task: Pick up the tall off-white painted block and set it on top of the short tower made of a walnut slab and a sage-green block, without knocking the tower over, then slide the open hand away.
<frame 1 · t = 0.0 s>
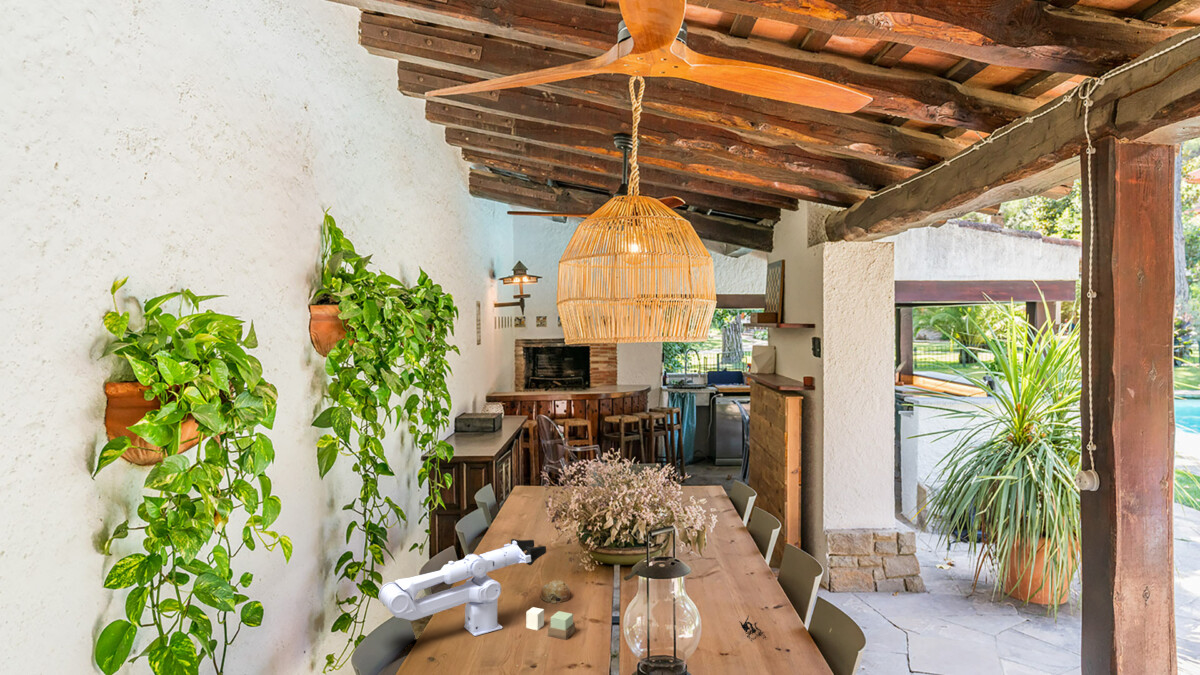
hand: (539, 546, 214), 22 cm above the table, tool horizontal, fingers open, 7 cm apart
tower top: (561, 625, 199), point 3 cm above the table
creature: (753, 637, 199), on the table
white block: (535, 626, 204), on the table
tower base: (561, 635, 199), on the table
brown rounded lump: (554, 598, 227), on the table
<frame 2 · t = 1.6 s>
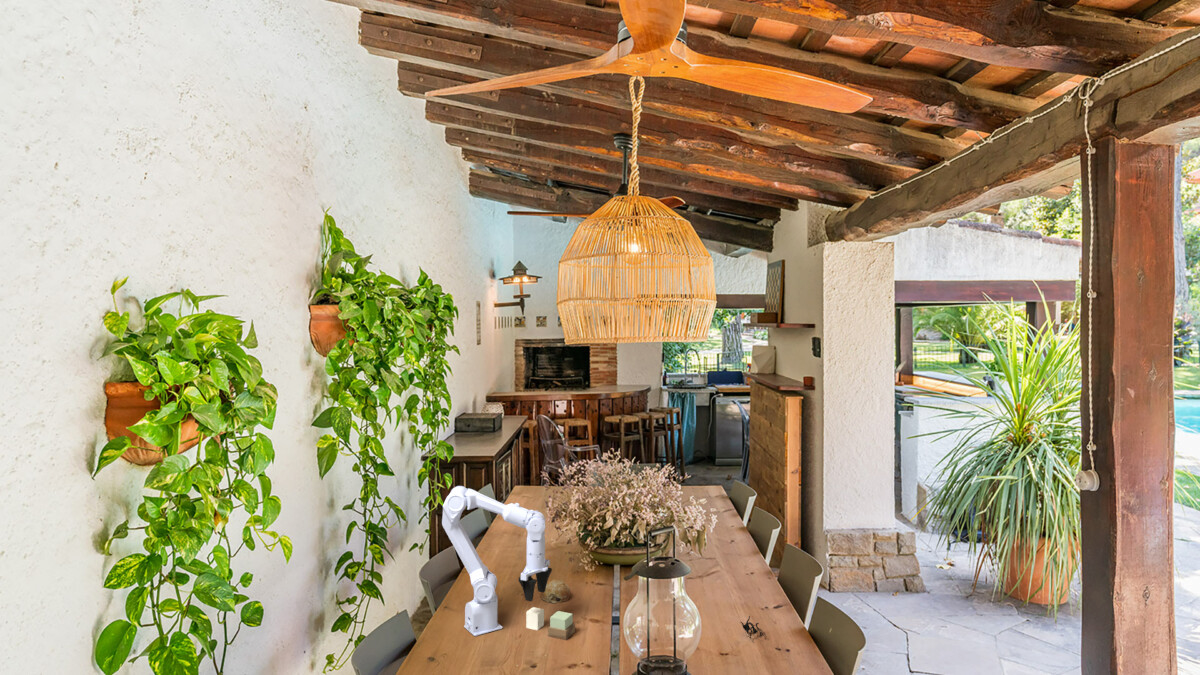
hand: (535, 596, 204), 9 cm above the table, tool pointing down, fingers open, 7 cm apart
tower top: (561, 625, 199), point 3 cm above the table, touching tower base
tower base: (561, 635, 199), on the table, touching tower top
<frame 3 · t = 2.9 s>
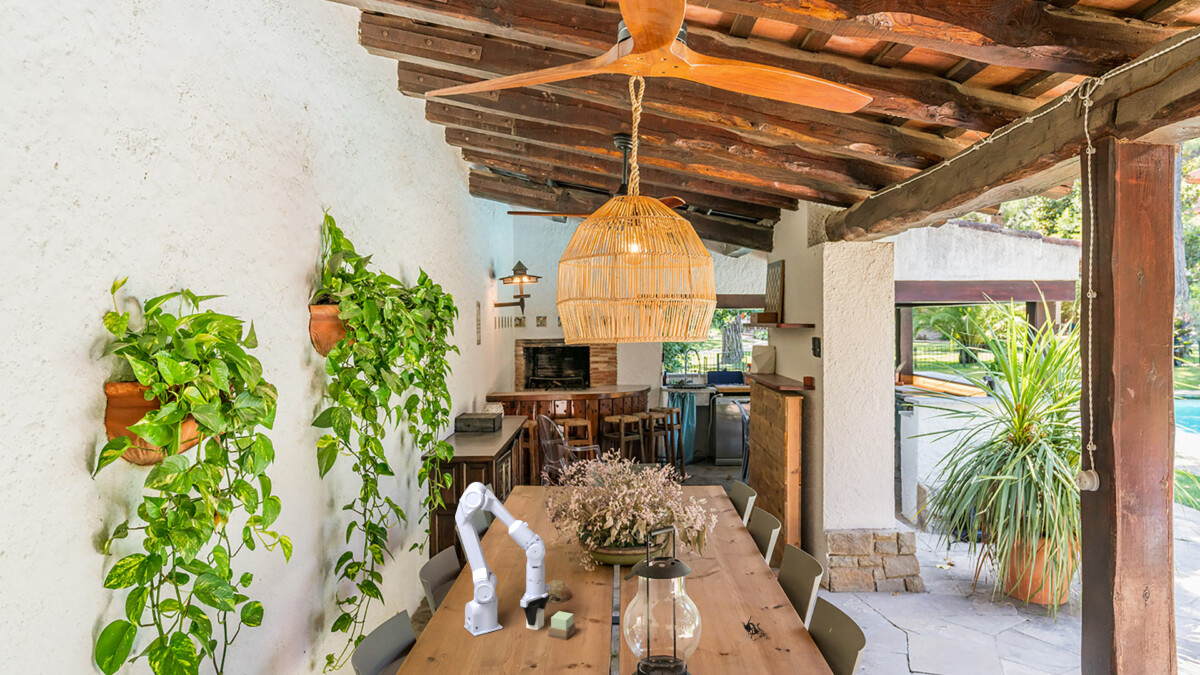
hand: (535, 621, 204), 1 cm above the table, tool pointing down, fingers closed on white block, 4 cm apart
white block: (535, 626, 204), on the table, touching gripper
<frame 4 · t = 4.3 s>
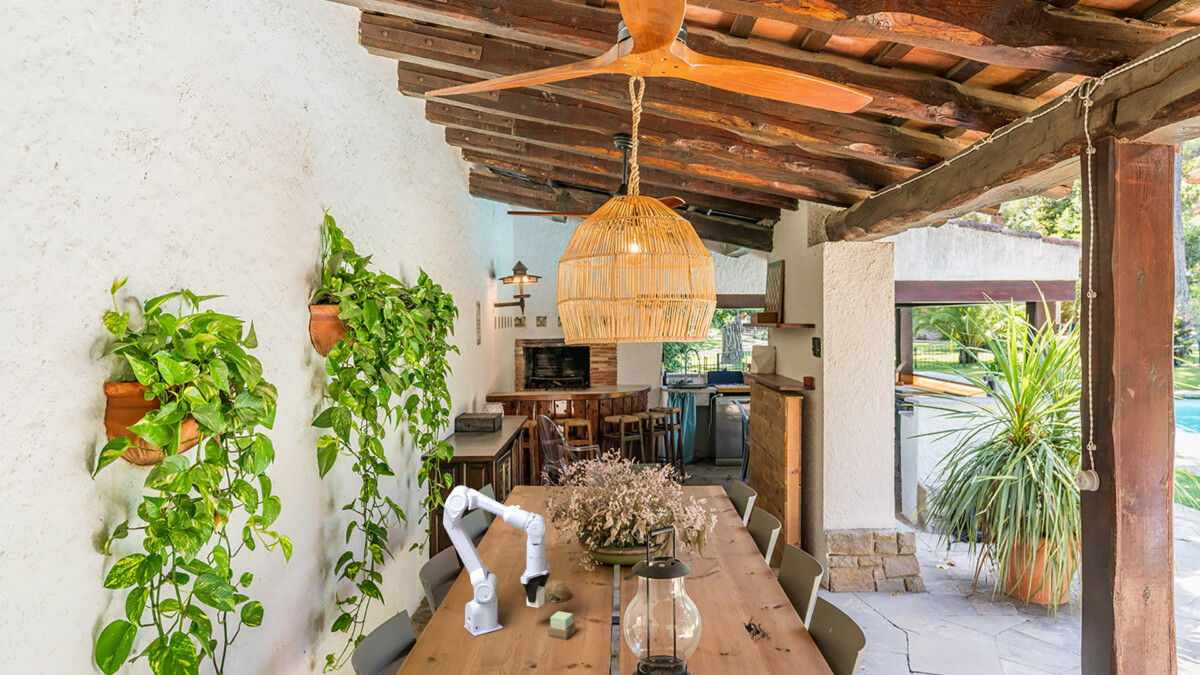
hand: (535, 599, 204), 8 cm above the table, tool pointing down, fingers closed on white block, 4 cm apart
white block: (535, 604, 204), point 7 cm above the table, touching gripper
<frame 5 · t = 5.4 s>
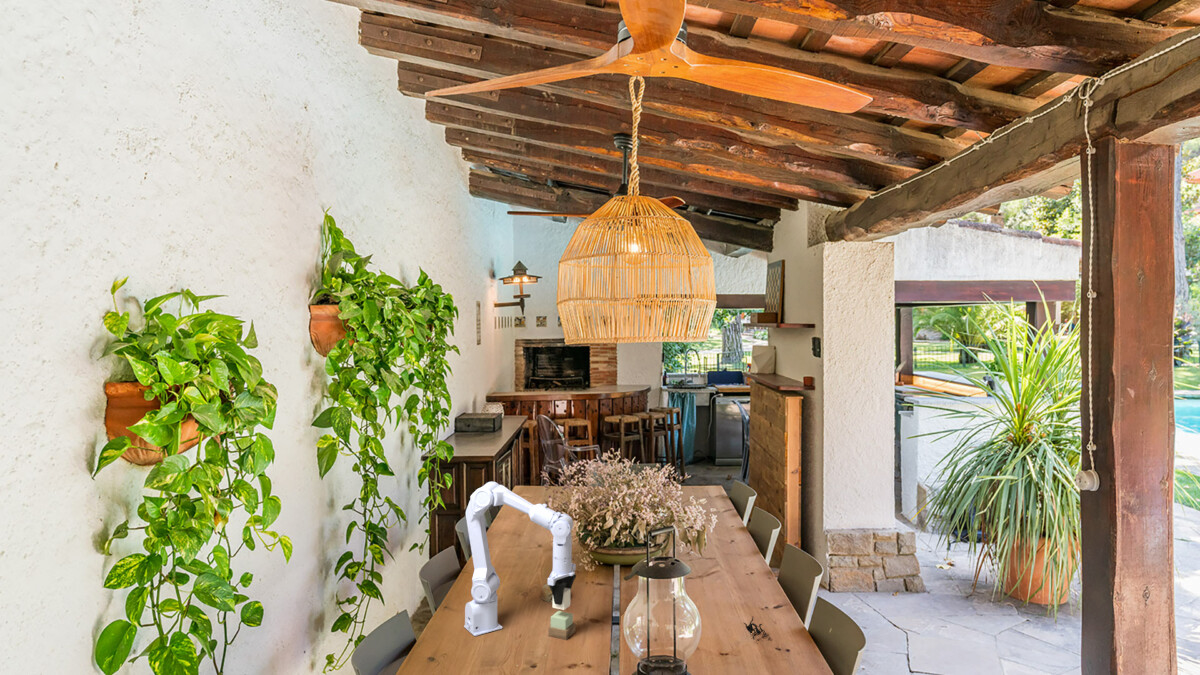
hand: (561, 601, 199), 10 cm above the table, tool pointing down, fingers closed on white block, 4 cm apart
white block: (561, 606, 199), point 8 cm above the table, touching gripper
when the fingers open (8 cm above the table, at t = 6.2 s): white block drops 1 cm, resting on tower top.
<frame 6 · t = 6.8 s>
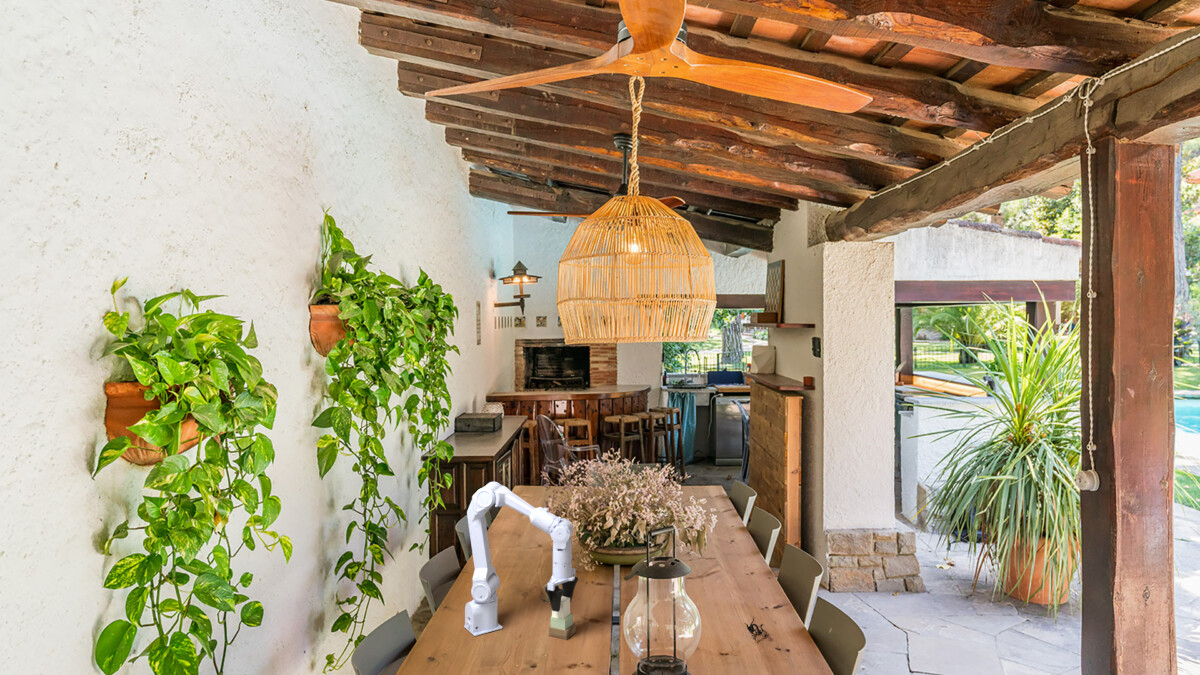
hand: (561, 606, 199), 8 cm above the table, tool pointing down, fingers open, 7 cm apart
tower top: (561, 625, 199), point 3 cm above the table, touching tower base, white block
white block: (560, 615, 199), point 6 cm above the table, touching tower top
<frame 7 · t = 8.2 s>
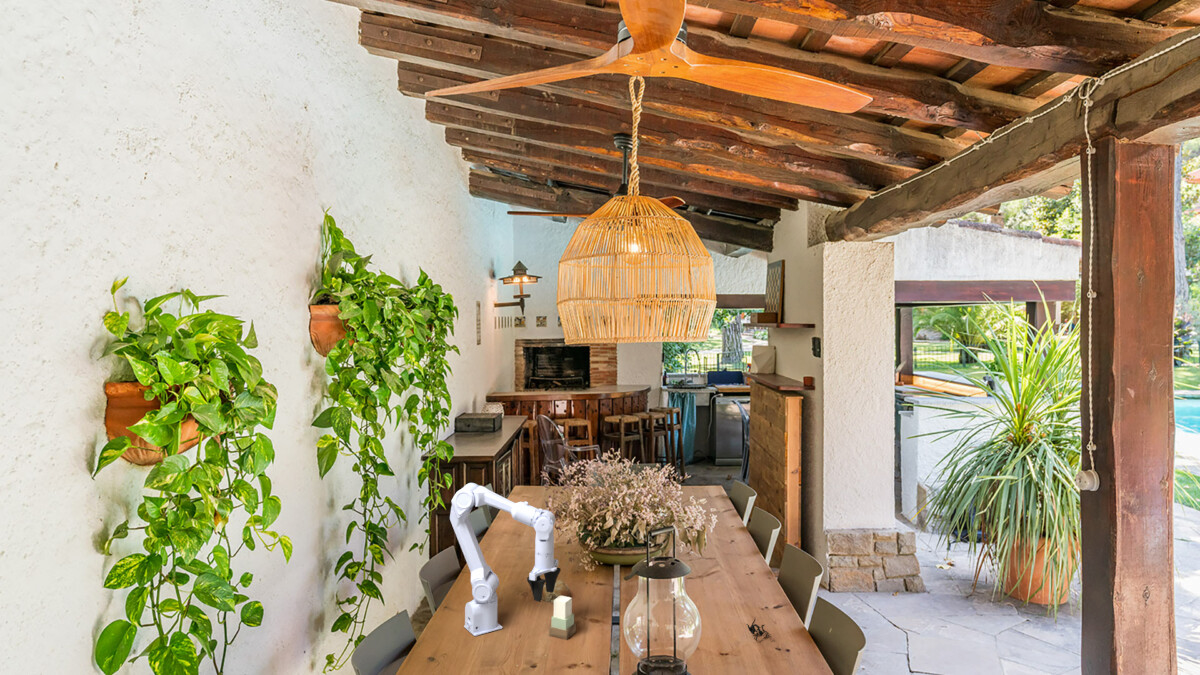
hand: (543, 596, 202), 10 cm above the table, tool pointing down, fingers open, 7 cm apart
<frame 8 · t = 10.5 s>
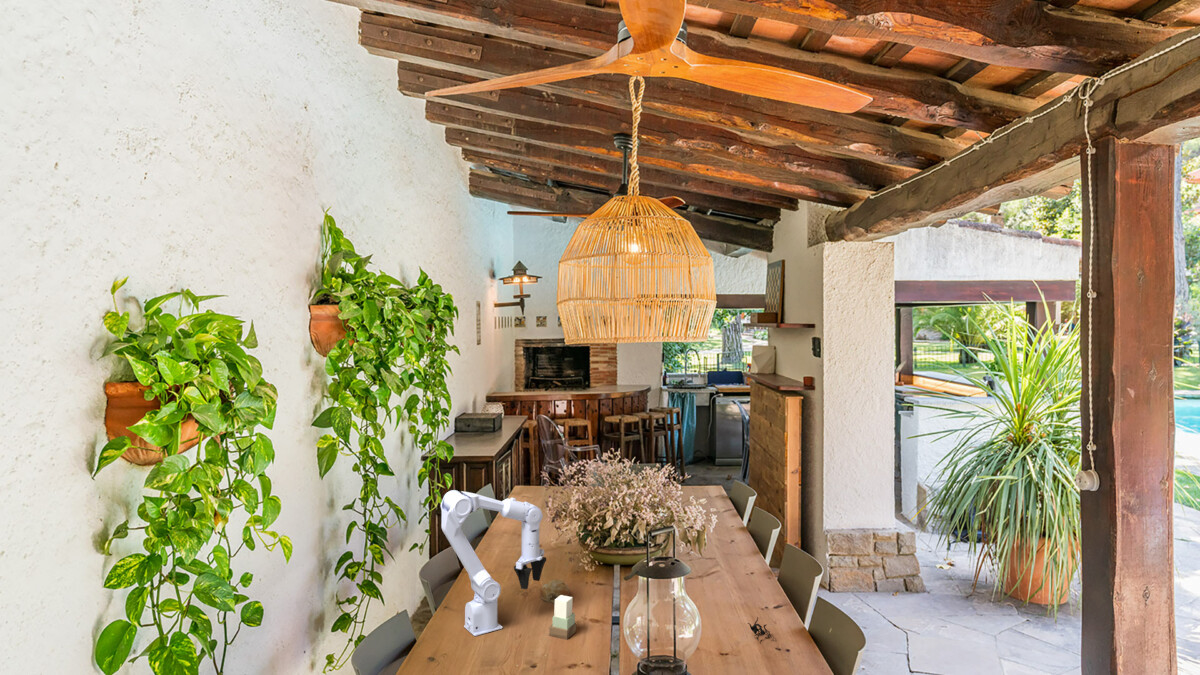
hand: (530, 584, 211), 10 cm above the table, tool pointing down, fingers open, 7 cm apart
at the end: white block 0.2 cm off-centre on the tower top, point 3.0 cm above the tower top's base; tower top 0.3 cm off-centre on the tower base, point 3.0 cm above the tower base's base; white block tilted 0° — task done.
